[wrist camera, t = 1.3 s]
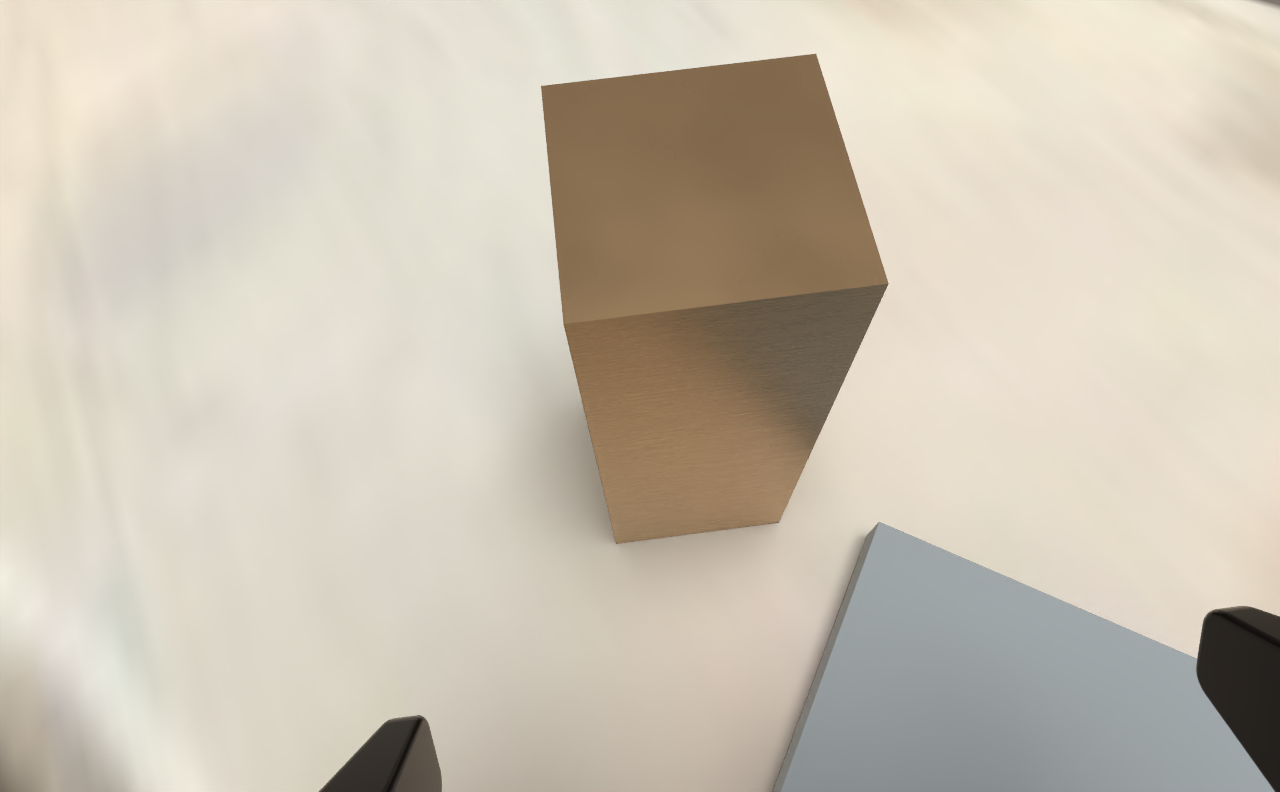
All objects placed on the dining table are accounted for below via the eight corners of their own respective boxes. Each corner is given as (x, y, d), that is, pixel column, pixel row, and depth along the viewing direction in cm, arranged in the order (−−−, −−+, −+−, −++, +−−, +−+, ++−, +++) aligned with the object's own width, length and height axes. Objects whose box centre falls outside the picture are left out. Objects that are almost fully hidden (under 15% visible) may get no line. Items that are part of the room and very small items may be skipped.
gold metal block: (778, 522, 24) (888, 283, 12) (616, 543, 23) (563, 324, 12) (748, 377, 26) (815, 53, 14) (599, 396, 26) (540, 86, 14)
